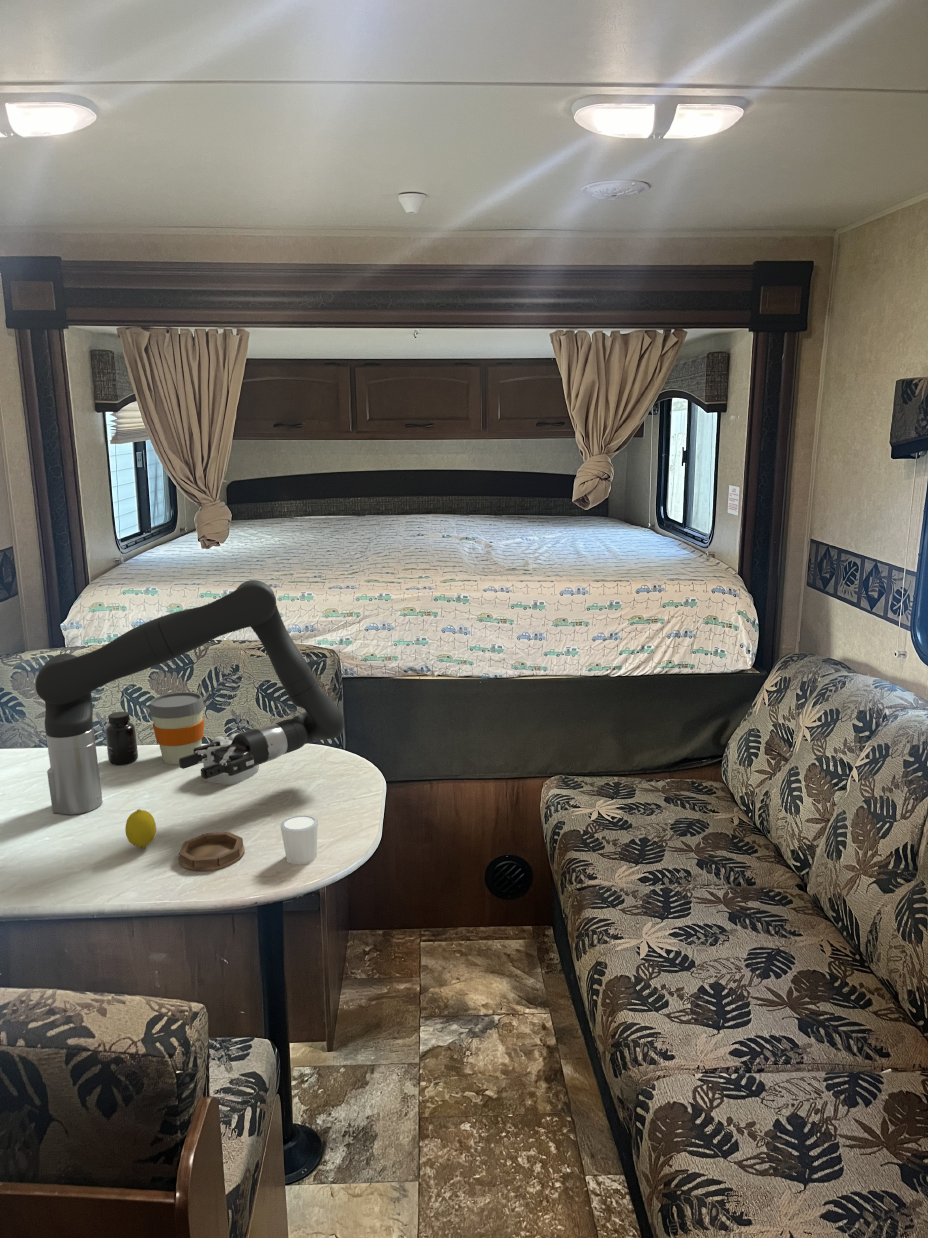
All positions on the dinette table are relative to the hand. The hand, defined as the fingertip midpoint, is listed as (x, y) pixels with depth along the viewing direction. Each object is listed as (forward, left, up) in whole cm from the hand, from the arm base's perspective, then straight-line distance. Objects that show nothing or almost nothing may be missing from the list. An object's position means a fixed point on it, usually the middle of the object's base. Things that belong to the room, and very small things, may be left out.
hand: (190, 769), depth 172 cm
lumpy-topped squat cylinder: (+3, +29, -13) cm, 32 cm away
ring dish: (+5, -12, -13) cm, 18 cm away
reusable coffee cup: (-12, +41, -13) cm, 44 cm away
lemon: (-9, -7, -13) cm, 17 cm away
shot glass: (+22, -15, -13) cm, 30 cm away
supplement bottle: (-26, +41, -13) cm, 50 cm away
